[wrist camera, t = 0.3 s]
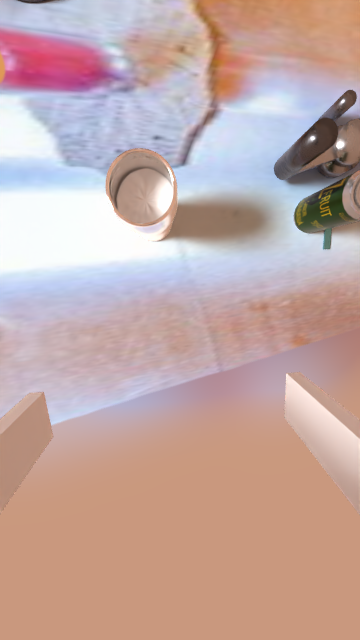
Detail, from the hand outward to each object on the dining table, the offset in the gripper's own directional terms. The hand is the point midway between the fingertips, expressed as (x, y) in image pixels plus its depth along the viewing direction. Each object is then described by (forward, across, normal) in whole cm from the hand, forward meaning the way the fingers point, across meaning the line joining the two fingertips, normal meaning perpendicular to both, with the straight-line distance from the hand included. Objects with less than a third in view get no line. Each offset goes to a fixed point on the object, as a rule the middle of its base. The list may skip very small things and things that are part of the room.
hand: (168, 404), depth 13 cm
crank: (+25, +24, +22) cm, 41 cm away
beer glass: (+27, -2, +14) cm, 31 cm away
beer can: (+27, +23, +14) cm, 38 cm away
